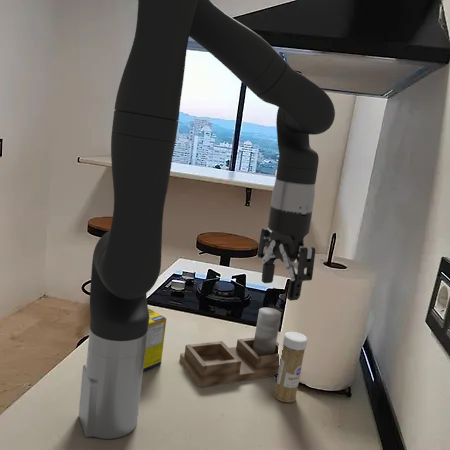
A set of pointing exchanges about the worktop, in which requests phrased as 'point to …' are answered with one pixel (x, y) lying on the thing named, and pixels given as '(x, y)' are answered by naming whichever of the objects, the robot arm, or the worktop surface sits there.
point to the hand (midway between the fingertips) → (279, 290)
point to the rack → (237, 355)
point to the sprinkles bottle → (290, 366)
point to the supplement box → (154, 340)
